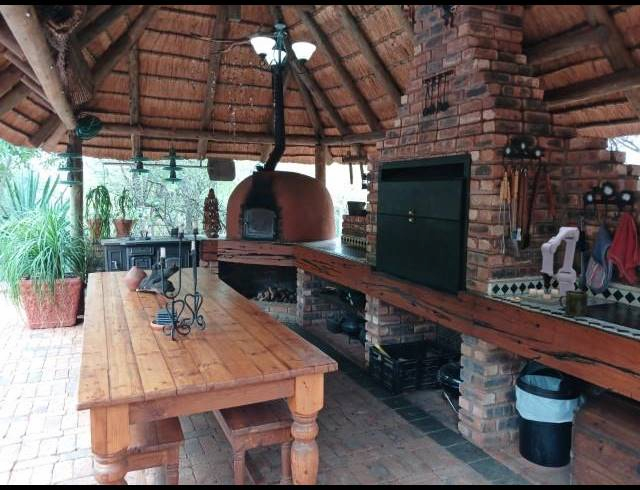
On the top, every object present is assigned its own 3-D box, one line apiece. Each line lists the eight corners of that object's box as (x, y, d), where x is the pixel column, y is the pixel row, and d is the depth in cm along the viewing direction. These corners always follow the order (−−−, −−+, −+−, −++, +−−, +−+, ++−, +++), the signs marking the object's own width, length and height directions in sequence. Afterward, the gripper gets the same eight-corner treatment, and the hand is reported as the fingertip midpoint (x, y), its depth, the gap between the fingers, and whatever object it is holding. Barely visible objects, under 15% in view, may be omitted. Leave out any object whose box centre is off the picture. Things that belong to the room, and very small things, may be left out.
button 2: (545, 300, 304) (545, 293, 304) (551, 302, 301) (552, 294, 301) (541, 301, 302) (542, 294, 301) (548, 302, 299) (548, 295, 298)
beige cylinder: (539, 296, 317) (539, 289, 316) (545, 297, 314) (545, 290, 313) (535, 297, 314) (535, 290, 314) (541, 298, 311) (542, 291, 311)
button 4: (531, 295, 311) (531, 288, 311) (537, 296, 308) (537, 289, 307) (527, 296, 309) (528, 289, 308) (534, 297, 306) (534, 290, 305)
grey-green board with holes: (536, 295, 322) (536, 292, 321) (567, 300, 306) (568, 297, 306) (519, 299, 310) (519, 296, 309) (550, 305, 294) (551, 301, 294)
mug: (591, 316, 267) (592, 294, 266) (562, 316, 268) (563, 294, 267) (582, 311, 278) (583, 290, 276) (554, 311, 279) (555, 290, 278)
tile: (512, 297, 317) (513, 296, 317) (526, 299, 310) (526, 298, 310) (504, 298, 311) (504, 297, 311) (518, 301, 304) (518, 300, 304)
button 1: (553, 296, 309) (553, 289, 309) (559, 297, 306) (559, 290, 306) (549, 297, 307) (550, 289, 307) (556, 298, 304) (556, 290, 303)
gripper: (537, 261, 307) (536, 283, 309) (544, 265, 293) (543, 288, 294) (549, 261, 306) (548, 283, 308) (557, 265, 292) (556, 288, 293)
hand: (546, 285), depth 301 cm, fingers closed
